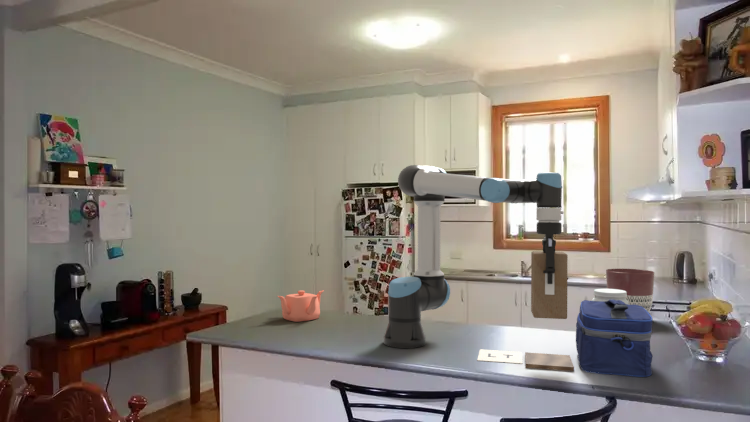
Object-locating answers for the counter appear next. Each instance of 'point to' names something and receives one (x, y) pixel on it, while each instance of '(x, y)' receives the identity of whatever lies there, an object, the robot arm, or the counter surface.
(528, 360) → the board
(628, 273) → the planter
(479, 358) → the tile
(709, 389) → the counter surface
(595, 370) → the lunch bag
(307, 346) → the counter surface
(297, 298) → the pot
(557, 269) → the wooden block
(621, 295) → the supplement tub
